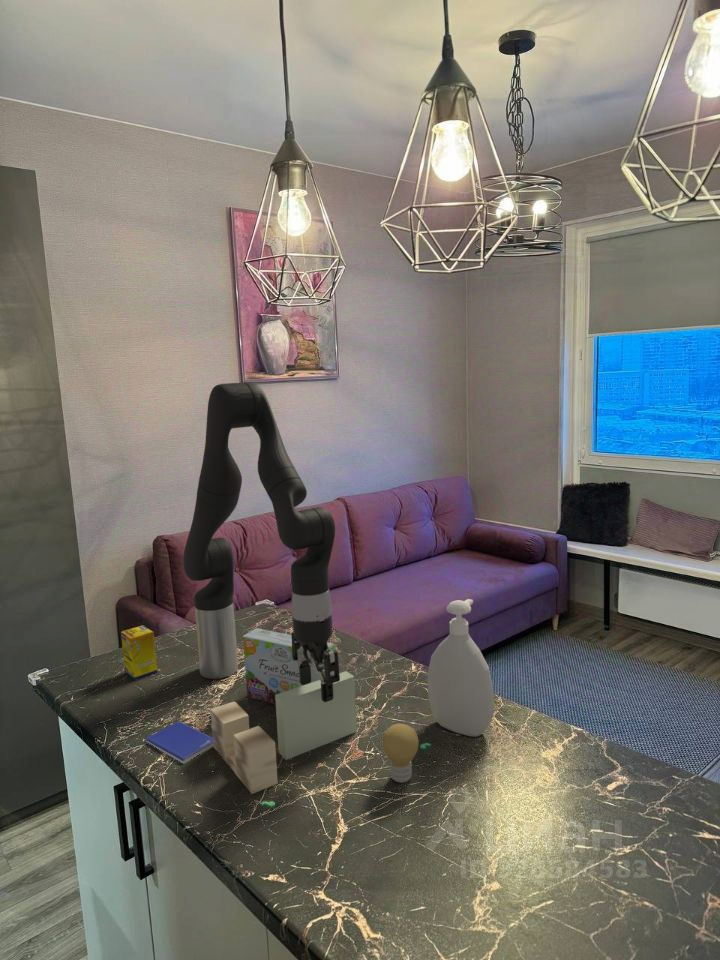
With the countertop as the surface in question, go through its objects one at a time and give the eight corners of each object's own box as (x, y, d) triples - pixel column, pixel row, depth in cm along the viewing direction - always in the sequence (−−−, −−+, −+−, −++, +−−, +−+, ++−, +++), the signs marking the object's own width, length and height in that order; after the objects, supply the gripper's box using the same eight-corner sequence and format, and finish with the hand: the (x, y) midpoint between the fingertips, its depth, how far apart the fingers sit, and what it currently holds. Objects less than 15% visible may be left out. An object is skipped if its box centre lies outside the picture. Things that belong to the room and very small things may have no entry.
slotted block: (213, 746, 128) (210, 709, 127) (237, 738, 131) (234, 701, 129) (251, 794, 113) (248, 752, 112) (277, 783, 116) (275, 742, 115)
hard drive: (217, 739, 129) (179, 720, 137) (183, 758, 123) (145, 737, 130) (218, 746, 129) (180, 727, 137) (183, 766, 123) (146, 745, 131)
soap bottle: (503, 728, 131) (503, 600, 126) (485, 747, 124) (484, 613, 120) (441, 708, 140) (438, 587, 135) (420, 725, 133) (417, 599, 129)
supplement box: (124, 673, 162) (120, 631, 160) (147, 665, 166) (143, 624, 164) (134, 681, 157) (130, 638, 155) (157, 672, 161) (153, 630, 159)
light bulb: (425, 773, 117) (424, 722, 116) (409, 793, 112) (408, 740, 110) (393, 763, 120) (392, 713, 119) (376, 783, 115) (375, 731, 113)
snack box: (245, 699, 147) (241, 635, 144) (260, 687, 152) (256, 626, 149) (326, 719, 137) (323, 651, 134) (339, 706, 142) (336, 641, 139)
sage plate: (278, 752, 125) (275, 694, 123) (348, 725, 134) (346, 671, 132) (286, 760, 123) (282, 701, 121) (356, 731, 132) (354, 676, 130)
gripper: (277, 606, 128) (282, 684, 130) (313, 628, 116) (318, 712, 119) (310, 598, 132) (315, 673, 135) (348, 618, 120) (352, 700, 123)
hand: (316, 691), depth 127 cm, fingers open, 8 cm apart
